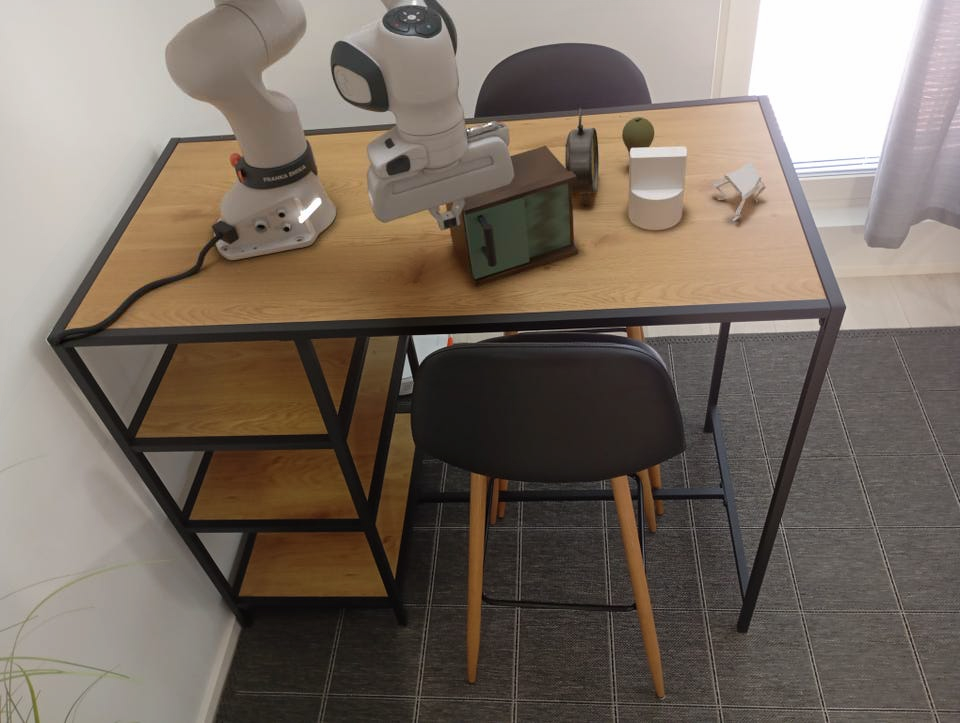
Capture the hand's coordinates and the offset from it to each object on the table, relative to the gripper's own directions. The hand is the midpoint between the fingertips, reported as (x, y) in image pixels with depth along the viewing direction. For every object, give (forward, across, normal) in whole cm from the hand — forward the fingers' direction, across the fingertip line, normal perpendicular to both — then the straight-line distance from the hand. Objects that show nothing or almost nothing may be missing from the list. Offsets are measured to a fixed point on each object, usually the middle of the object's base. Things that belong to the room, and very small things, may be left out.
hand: (449, 225), depth 113 cm
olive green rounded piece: (+15, -41, -21) cm, 49 cm away
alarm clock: (+15, -29, -19) cm, 38 cm away
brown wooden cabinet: (+15, -12, -10) cm, 22 cm away
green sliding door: (+14, -8, -2) cm, 16 cm away
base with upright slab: (+16, -37, -7) cm, 41 cm away
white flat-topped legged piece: (+16, -51, -3) cm, 53 cm away
